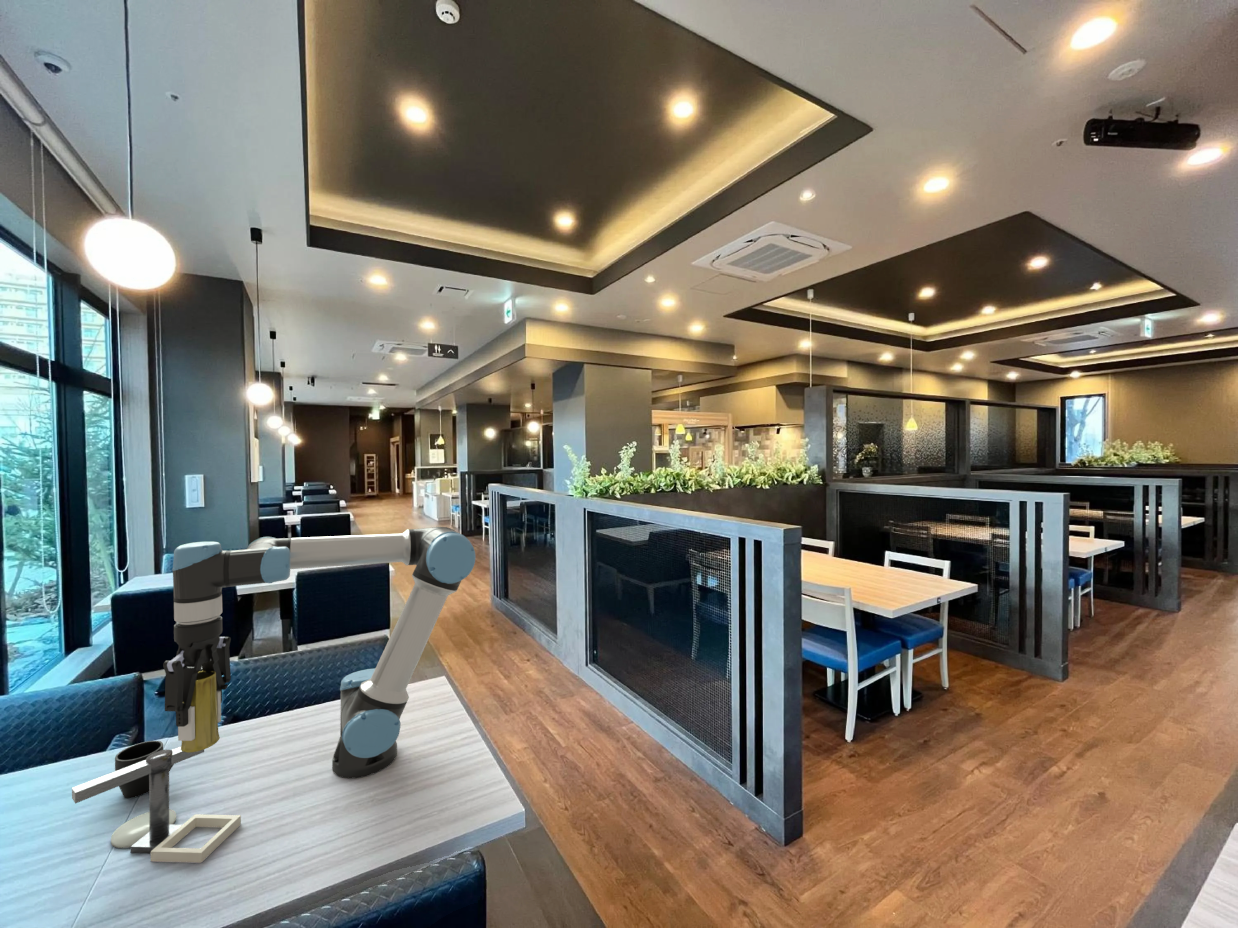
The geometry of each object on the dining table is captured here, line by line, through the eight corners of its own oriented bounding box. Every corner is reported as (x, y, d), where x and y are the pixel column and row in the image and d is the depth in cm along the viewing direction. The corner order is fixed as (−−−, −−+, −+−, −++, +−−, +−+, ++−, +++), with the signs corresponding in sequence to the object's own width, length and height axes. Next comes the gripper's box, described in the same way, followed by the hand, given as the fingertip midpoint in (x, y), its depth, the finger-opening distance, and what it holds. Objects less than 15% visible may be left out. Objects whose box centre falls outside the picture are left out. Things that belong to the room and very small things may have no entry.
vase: (196, 736, 104) (195, 669, 104) (226, 734, 105) (225, 668, 104) (172, 753, 98) (171, 682, 98) (205, 752, 99) (204, 681, 98)
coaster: (188, 812, 110) (188, 809, 110) (145, 848, 100) (145, 844, 100) (144, 811, 110) (144, 808, 110) (96, 847, 100) (96, 843, 100)
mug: (157, 802, 113) (157, 761, 113) (104, 801, 113) (104, 760, 112) (188, 778, 121) (188, 740, 121) (138, 778, 121) (138, 739, 121)
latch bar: (76, 804, 90) (76, 767, 90) (70, 796, 92) (70, 759, 92) (206, 752, 106) (206, 720, 106) (199, 746, 109) (199, 714, 108)
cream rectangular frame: (240, 824, 107) (240, 815, 107) (201, 862, 97) (201, 852, 97) (194, 823, 107) (194, 814, 107) (150, 861, 97) (150, 851, 97)
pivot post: (186, 830, 105) (186, 759, 104) (160, 853, 99) (160, 778, 98) (158, 829, 105) (158, 758, 104) (130, 852, 99) (130, 777, 98)
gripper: (217, 604, 110) (219, 706, 111) (135, 635, 91) (137, 758, 92) (251, 604, 110) (252, 706, 111) (175, 635, 91) (177, 758, 92)
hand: (200, 730), depth 101 cm, fingers closed on vase, 6 cm apart
